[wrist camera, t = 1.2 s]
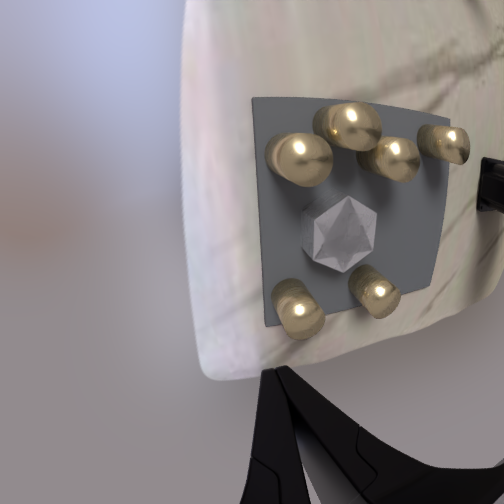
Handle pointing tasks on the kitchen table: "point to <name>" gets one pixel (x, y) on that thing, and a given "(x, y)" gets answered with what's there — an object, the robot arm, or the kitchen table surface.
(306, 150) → the brass spacers
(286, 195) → the mat
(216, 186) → the kitchen table surface
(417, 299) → the kitchen table surface
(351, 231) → the clear faceted crystal
